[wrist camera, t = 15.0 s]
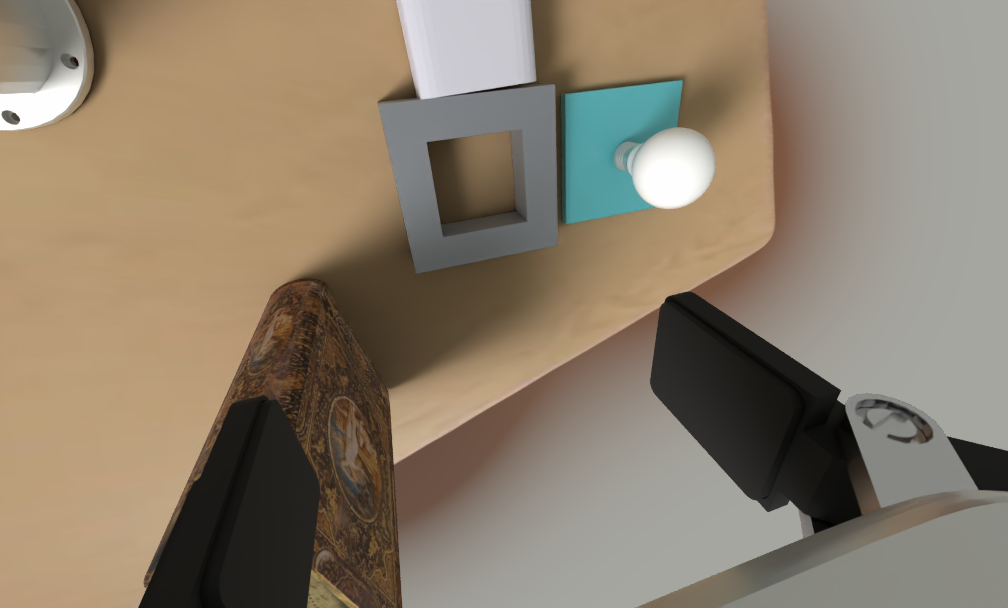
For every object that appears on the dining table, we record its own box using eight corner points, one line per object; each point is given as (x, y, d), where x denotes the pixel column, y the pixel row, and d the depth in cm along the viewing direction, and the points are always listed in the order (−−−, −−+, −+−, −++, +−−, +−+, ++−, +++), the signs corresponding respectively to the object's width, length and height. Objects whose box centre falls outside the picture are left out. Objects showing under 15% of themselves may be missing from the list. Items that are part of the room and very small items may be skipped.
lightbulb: (581, 151, 38) (648, 173, 29) (633, 104, 37) (719, 111, 28) (612, 200, 41) (681, 234, 32) (660, 158, 41) (745, 179, 31)
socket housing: (377, 101, 32) (378, 104, 29) (539, 83, 35) (555, 84, 32) (412, 259, 39) (416, 274, 37) (544, 233, 42) (557, 245, 39)
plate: (560, 93, 36) (565, 94, 35) (676, 80, 38) (683, 80, 38) (562, 221, 42) (566, 224, 41) (661, 202, 45) (667, 205, 44)
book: (260, 292, 37) (119, 573, 16) (318, 271, 37) (255, 516, 17) (343, 410, 46) (321, 689, 25) (389, 391, 46) (405, 649, 25)
